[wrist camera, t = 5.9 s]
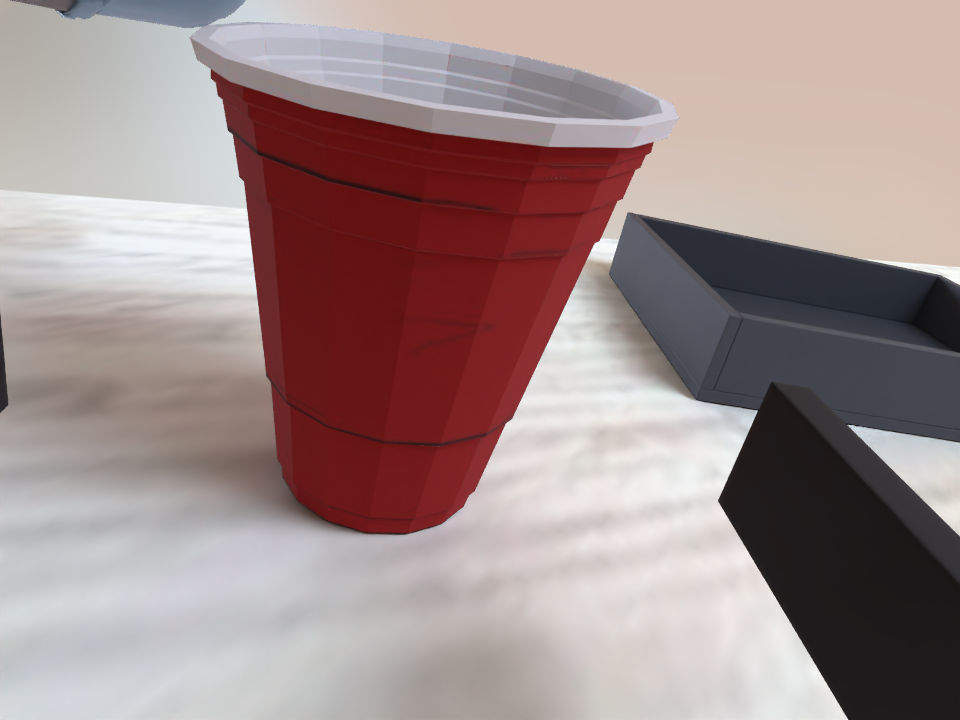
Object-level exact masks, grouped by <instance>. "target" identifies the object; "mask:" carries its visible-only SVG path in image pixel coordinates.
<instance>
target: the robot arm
mask: <svg viewBox="0 0 960 720" xmlns="http://www.w3.org/2000/svg"><path fill="white" fill-rule="evenodd" d="M12 1H17V2H22V3H27V4H32V5H37V6H42V7H47V8H52V9H55V11H56V12H58V13H59V14H60V15H61V16H62V17H66V18H70V19H75V18H76V17H79V18H82V19H87V18H91V17H92V16H94V15H95V14H98V15H104V16H111V17H118V18H124V19H130V20H137V21H144V22H150V23H157V24H163V25H170V26H177V27H183V28H194V27H201V26H204V25H208V24H210V23H212V22H214V21H216V20H218V19H222V18H226V17H227V16H229V15H231V14H232V13H234V12H235V11H236V10H237V9H238V8H239V7H240V6H241V5H242V4H243V3H244V2H245V0H12ZM7 406H8V395H7V384H6V373H5V361H4V350H3V339H2V328H1V316H0V413H1V412H2V411H3V410H4V409H5V408H6V407H7ZM718 502H719V503H720V505H721V507H722V508H723V510H724V512H725V513H726V515H727V517H728V519H729V520H730V522H731V524H732V525H733V527H734V529H735V530H736V532H737V534H738V535H739V537H740V539H741V540H742V542H743V544H744V545H745V547H746V549H747V550H748V552H749V554H750V555H751V557H752V559H753V560H754V562H755V564H756V566H757V567H758V569H759V571H760V572H761V574H762V576H763V577H764V579H765V581H766V582H767V584H768V586H769V587H770V589H771V591H772V592H773V594H774V596H775V597H776V599H777V601H778V602H779V604H780V606H781V607H782V609H783V611H784V613H785V614H786V616H787V618H788V619H789V621H790V623H791V624H792V626H793V628H794V629H795V631H796V633H797V634H798V636H799V638H800V639H801V641H802V643H803V644H804V646H805V648H806V649H807V651H808V653H809V654H810V656H811V658H812V659H813V661H814V663H815V665H816V666H817V668H818V670H819V671H820V673H821V675H822V676H823V678H824V680H825V681H826V683H827V685H828V686H829V688H830V690H831V691H832V693H833V695H834V696H835V698H836V700H837V701H838V703H839V705H840V706H841V708H842V710H843V712H844V713H845V715H846V717H847V718H848V720H960V536H959V535H958V534H957V533H956V532H955V531H954V530H953V529H952V528H951V527H950V526H949V525H948V524H946V523H945V522H944V521H943V520H942V519H941V518H940V517H939V516H938V515H937V514H936V513H935V512H934V511H933V510H932V509H931V508H930V507H929V506H928V505H927V504H926V503H925V502H924V501H923V500H922V499H921V498H920V497H919V496H918V495H917V494H916V493H915V492H914V491H913V490H912V489H911V488H910V487H909V486H908V485H907V484H906V483H905V482H904V481H903V480H902V479H901V478H900V477H899V476H898V475H897V474H896V473H895V472H894V471H893V470H892V469H891V468H890V467H889V466H888V465H887V464H886V463H885V462H884V461H883V460H882V459H881V458H880V457H879V456H878V455H877V454H876V453H875V452H874V451H873V450H872V449H871V448H870V447H869V446H868V445H867V444H866V443H865V442H864V441H863V440H862V439H860V438H859V437H858V436H857V435H856V434H855V433H854V432H853V431H852V430H851V429H850V428H849V427H848V426H847V425H846V424H845V423H844V422H843V421H842V420H841V419H840V418H839V417H838V416H837V415H836V414H835V413H834V412H833V411H832V410H831V409H830V408H829V407H828V406H827V405H826V404H825V403H824V402H823V401H822V400H821V399H820V398H819V397H818V396H817V395H816V394H815V393H814V392H813V391H812V390H811V389H810V388H808V387H802V386H796V385H790V384H784V383H778V382H772V381H771V383H770V385H769V388H768V390H767V392H766V394H765V397H764V399H763V401H762V403H761V406H760V408H759V410H758V412H757V415H756V417H755V419H754V421H753V424H752V426H751V428H750V430H749V433H748V435H747V437H746V439H745V442H744V444H743V446H742V448H741V451H740V453H739V455H738V457H737V460H736V462H735V464H734V466H733V468H732V471H731V473H730V475H729V477H728V480H727V482H726V484H725V486H724V489H723V491H722V493H721V495H720V498H719V500H718Z"/></svg>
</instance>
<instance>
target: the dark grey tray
mask: <svg viewBox="0 0 960 720" xmlns="http://www.w3.org/2000/svg"><path fill="white" fill-rule="evenodd" d="M609 275H610V276H611V277H612V279H613V280H614V282H615V283H616V285H617V286H618V287H619V289H620V290H621V292H622V293H623V295H624V296H625V298H626V299H627V300H628V302H629V303H630V305H631V306H632V308H633V309H634V311H635V312H636V313H637V315H638V316H639V318H640V319H641V321H642V322H643V324H644V325H645V326H646V328H647V329H648V331H649V332H650V334H651V335H652V336H653V338H654V339H655V341H656V342H657V344H658V345H659V347H660V348H661V349H662V351H663V352H664V354H665V355H666V357H667V358H668V360H669V361H670V362H671V364H672V365H673V367H674V368H675V370H676V371H677V373H678V374H679V375H680V377H681V378H682V380H683V381H684V383H685V384H686V385H687V387H688V388H689V390H690V391H691V393H692V394H693V396H694V397H695V398H696V399H697V400H702V401H708V402H714V403H721V404H727V405H733V406H740V407H746V408H752V409H759V408H760V406H761V403H762V401H763V399H764V397H765V394H766V392H767V390H768V388H769V385H770V383H771V381H772V382H778V383H784V384H790V385H796V386H802V387H808V388H810V389H811V390H812V391H813V392H814V393H815V394H816V395H817V396H818V397H819V398H820V399H821V400H822V401H823V402H824V403H825V404H826V405H827V406H828V407H829V408H830V409H831V410H832V411H833V412H834V413H835V414H836V415H837V416H838V417H839V418H840V419H841V420H842V421H843V422H844V423H847V424H853V425H859V426H866V427H872V428H878V429H885V430H891V431H897V432H904V433H910V434H916V435H923V436H929V437H935V438H941V439H948V440H954V441H960V285H958V284H956V283H954V282H953V281H951V280H949V279H947V278H945V277H943V276H941V275H937V274H932V273H927V272H922V271H917V270H912V269H907V268H902V267H897V266H892V265H887V264H882V263H878V262H873V261H868V260H863V259H858V258H853V257H848V256H843V255H837V254H833V253H828V252H823V251H818V250H813V249H808V248H803V247H798V246H793V245H788V244H783V243H777V242H773V241H768V240H763V239H758V238H753V237H748V236H743V235H738V234H733V233H728V232H723V231H718V230H713V229H708V228H703V227H698V226H694V225H689V224H684V223H679V222H674V221H669V220H664V219H659V218H654V217H649V216H644V215H639V214H634V213H627V216H626V220H625V223H624V226H623V229H622V233H621V236H620V239H619V242H618V246H617V249H616V252H615V255H614V258H613V262H612V266H611V268H610V272H609Z"/></svg>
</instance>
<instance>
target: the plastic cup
mask: <svg viewBox="0 0 960 720" xmlns="http://www.w3.org/2000/svg"><path fill="white" fill-rule="evenodd" d="M190 39H191V42H192V45H193V48H194V52H195V55H196V58H197V60H198V61H200V62H201V63H203V64H204V65H206V66H207V67H209V68H210V69H211V79H212V80H213V81H214V82H216V86H217V92H218V96H219V97H220V98H221V99H223V104H224V111H225V116H226V122H227V128H228V131H229V132H231V133H232V134H233V139H234V145H235V151H236V158H237V164H238V171H239V177H240V178H241V179H242V180H243V181H244V185H245V193H246V202H247V211H248V220H249V228H250V237H251V246H252V254H253V263H254V272H255V280H256V289H257V298H258V306H259V315H260V324H261V332H262V341H263V350H264V358H265V367H266V376H267V377H268V379H269V380H270V382H271V387H272V399H273V411H274V423H275V435H276V447H277V459H278V461H279V462H280V464H281V465H282V473H283V478H284V480H285V482H286V483H287V485H288V486H289V488H290V490H291V491H292V493H293V494H294V496H295V497H296V499H297V501H298V502H300V503H302V504H303V505H305V506H306V507H308V508H309V509H311V510H312V511H314V512H315V513H317V514H318V515H320V516H321V517H323V518H324V519H326V520H327V521H330V522H333V523H337V524H340V525H344V526H347V527H351V528H354V529H357V530H361V531H364V532H377V533H410V532H414V531H417V530H421V529H424V528H428V527H431V526H435V525H439V524H442V523H443V522H445V521H446V520H447V519H448V518H450V517H451V516H452V515H453V514H455V513H456V512H457V511H458V510H460V509H461V508H462V507H463V506H464V504H465V502H466V500H467V498H468V496H469V495H470V494H471V493H473V492H474V491H475V489H476V487H477V485H478V482H479V480H480V478H481V476H482V474H483V472H484V469H485V467H486V465H487V463H488V461H489V459H490V456H491V454H492V452H493V450H494V448H495V446H496V444H497V441H498V439H499V437H500V435H501V433H502V431H503V428H504V426H505V424H506V423H507V422H508V421H510V420H511V419H512V418H513V416H514V413H515V411H516V409H517V407H518V405H519V403H520V401H521V399H522V396H523V394H524V392H525V390H526V388H527V386H528V384H529V382H530V379H531V377H532V375H533V373H534V371H535V369H536V367H537V364H538V362H539V360H540V358H541V356H542V354H543V352H544V350H545V347H546V345H547V343H548V341H549V339H550V337H551V335H552V333H553V330H554V328H555V326H556V324H557V322H558V320H559V318H560V316H561V313H562V311H563V309H564V307H565V305H566V303H567V301H568V299H569V296H570V294H571V292H572V290H573V288H574V286H575V284H576V282H577V279H578V277H579V275H580V273H581V271H582V269H583V267H584V264H585V262H586V260H587V258H588V256H589V254H590V252H591V250H592V247H593V245H594V243H596V242H598V241H600V239H601V237H602V234H603V232H604V230H605V228H606V225H607V223H608V221H609V219H610V216H611V214H612V212H613V210H614V207H615V205H616V203H617V201H618V200H621V199H623V197H624V194H625V192H626V190H627V188H628V185H629V183H630V181H631V179H632V177H633V174H634V172H635V170H636V169H638V168H640V167H641V165H642V162H643V160H644V158H645V156H646V155H647V154H649V153H651V150H652V146H653V143H654V141H659V140H663V139H666V138H668V136H669V134H670V133H671V131H672V129H673V127H674V125H675V124H676V122H677V120H678V119H679V118H678V115H677V112H676V110H675V107H674V105H673V104H672V103H670V102H668V101H665V100H663V99H661V98H659V97H657V96H655V95H652V94H650V93H648V92H646V91H644V90H642V89H640V88H637V87H634V86H631V85H628V84H624V83H621V82H618V81H614V80H611V79H608V78H604V77H602V76H598V75H595V74H592V73H589V72H585V71H581V70H577V69H573V68H568V67H565V66H560V65H556V64H552V63H548V62H544V61H539V60H535V59H531V58H527V57H523V56H518V55H512V54H507V53H502V52H496V51H491V50H486V49H480V48H476V47H471V46H465V45H460V44H455V43H449V42H443V41H436V40H429V39H423V38H415V37H409V36H403V35H396V34H389V33H382V32H374V31H365V30H355V29H346V28H336V27H326V26H317V25H305V24H304V25H303V24H282V23H259V22H242V23H230V24H218V25H204V26H202V27H201V28H200V29H199V30H198V31H196V32H195V33H194V34H193V35H192V36H191V37H190Z"/></svg>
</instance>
